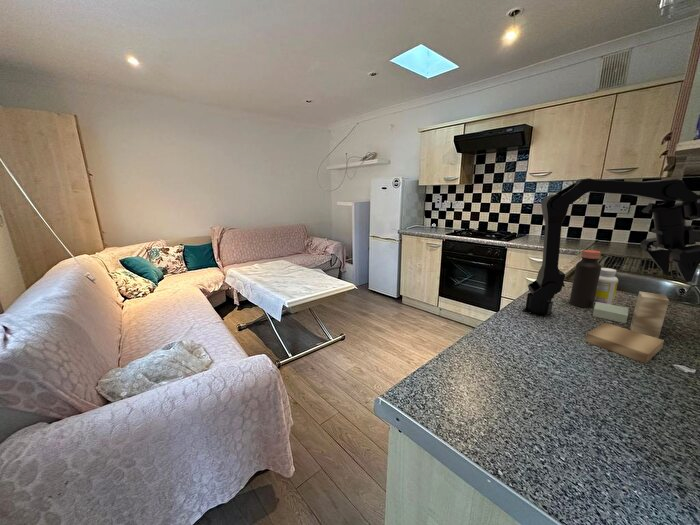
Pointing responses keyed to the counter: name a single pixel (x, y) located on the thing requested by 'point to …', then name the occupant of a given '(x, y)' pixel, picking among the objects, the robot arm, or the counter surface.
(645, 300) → the beech post
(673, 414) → the counter surface
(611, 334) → the oak block
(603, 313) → the sage block
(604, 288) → the supplement bottle
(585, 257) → the vinegar
